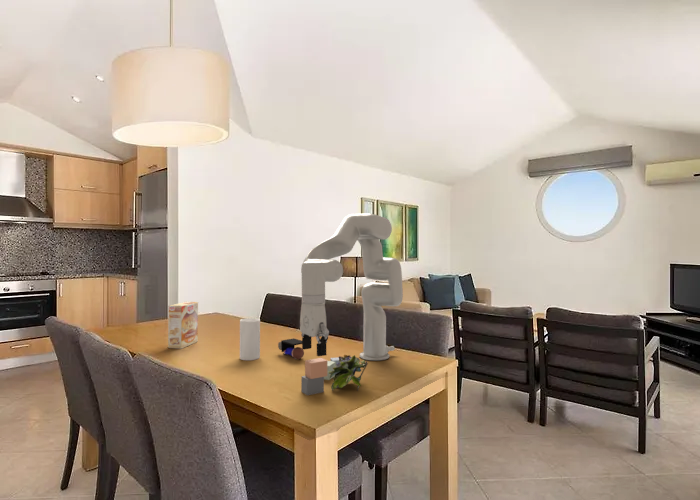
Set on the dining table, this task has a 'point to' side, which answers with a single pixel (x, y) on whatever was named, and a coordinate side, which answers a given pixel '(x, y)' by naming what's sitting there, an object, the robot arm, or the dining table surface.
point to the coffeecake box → (182, 324)
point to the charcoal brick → (312, 385)
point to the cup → (249, 339)
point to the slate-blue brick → (335, 360)
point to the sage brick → (329, 369)
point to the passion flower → (347, 371)
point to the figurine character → (291, 348)
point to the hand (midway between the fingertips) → (314, 352)
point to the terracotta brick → (315, 368)
